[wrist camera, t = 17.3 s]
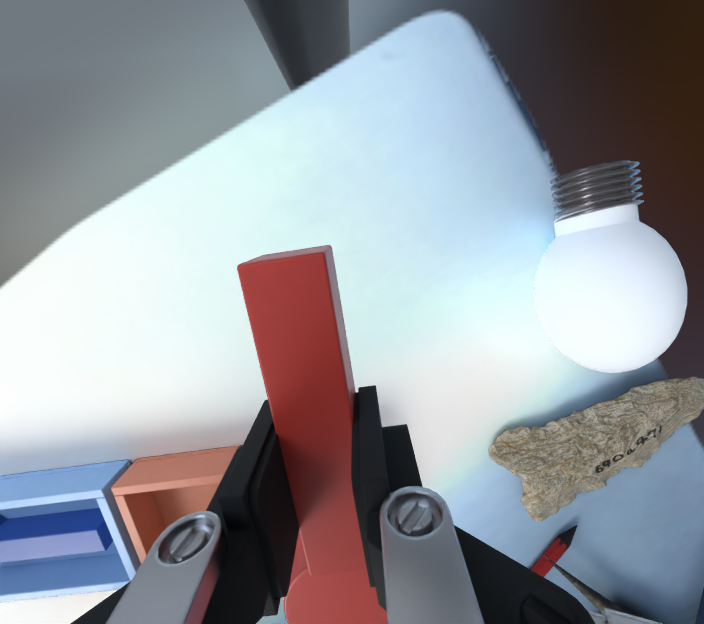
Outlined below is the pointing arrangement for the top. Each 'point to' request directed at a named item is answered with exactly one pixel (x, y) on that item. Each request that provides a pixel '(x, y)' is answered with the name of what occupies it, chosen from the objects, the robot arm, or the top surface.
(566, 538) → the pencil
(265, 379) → the red spoon
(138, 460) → the red bin
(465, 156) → the top surface
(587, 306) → the light bulb
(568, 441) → the stone tool
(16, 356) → the top surface
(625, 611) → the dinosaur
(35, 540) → the blue spoon
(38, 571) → the blue bin
